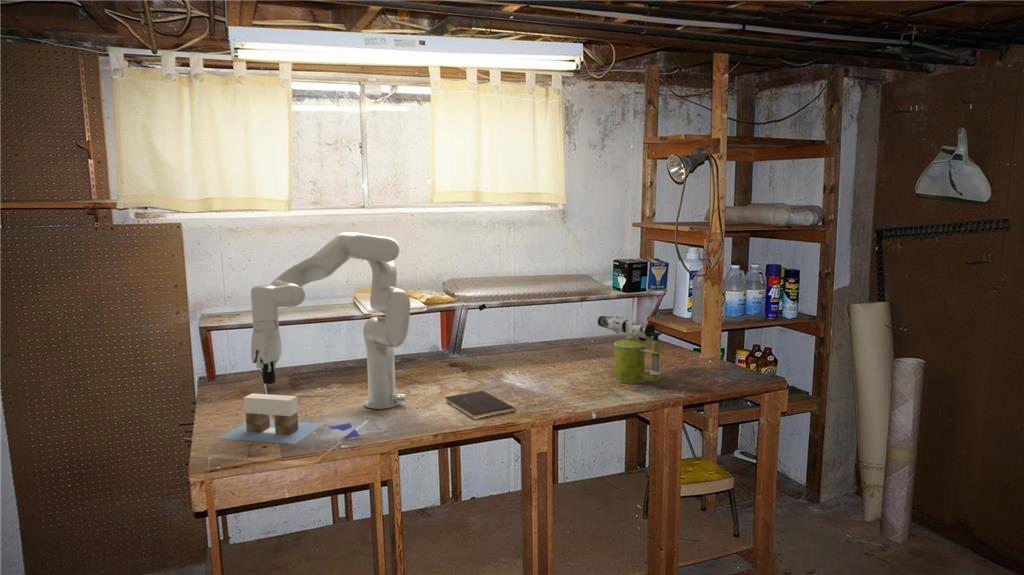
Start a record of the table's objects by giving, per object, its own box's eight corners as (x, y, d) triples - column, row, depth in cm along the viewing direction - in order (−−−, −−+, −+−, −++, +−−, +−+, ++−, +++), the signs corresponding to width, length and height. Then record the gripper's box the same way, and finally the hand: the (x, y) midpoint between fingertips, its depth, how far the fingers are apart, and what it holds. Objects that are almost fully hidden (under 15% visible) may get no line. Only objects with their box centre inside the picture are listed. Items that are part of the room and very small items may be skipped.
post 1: (270, 427, 217) (268, 409, 216) (261, 432, 212) (259, 414, 212) (256, 426, 218) (254, 408, 218) (246, 431, 214) (245, 413, 213)
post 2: (298, 429, 215) (297, 411, 214) (289, 435, 210) (288, 416, 209) (284, 428, 216) (283, 410, 215) (275, 433, 211) (274, 415, 211)
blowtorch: (649, 391, 254) (650, 326, 251) (589, 373, 281) (589, 314, 277) (672, 385, 262) (673, 322, 259) (612, 368, 288) (612, 310, 285)
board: (324, 426, 220) (324, 423, 220) (295, 447, 203) (294, 443, 203) (252, 421, 226) (252, 418, 226) (218, 441, 209) (218, 437, 208)
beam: (298, 411, 214) (297, 396, 213) (290, 416, 210) (289, 400, 209) (253, 408, 218) (252, 393, 217) (244, 412, 213) (243, 397, 213)
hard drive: (325, 426, 217) (333, 439, 206) (351, 422, 221) (360, 434, 210) (326, 431, 218) (333, 444, 207) (351, 427, 221) (360, 439, 210)
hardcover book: (473, 421, 226) (473, 414, 226) (445, 403, 246) (445, 396, 245) (515, 413, 234) (515, 406, 233) (484, 396, 253) (484, 390, 253)
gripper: (268, 320, 218) (271, 376, 220) (240, 329, 203) (244, 389, 206) (289, 321, 216) (292, 377, 218) (262, 330, 202) (266, 390, 204)
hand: (269, 383), depth 212 cm, fingers closed
